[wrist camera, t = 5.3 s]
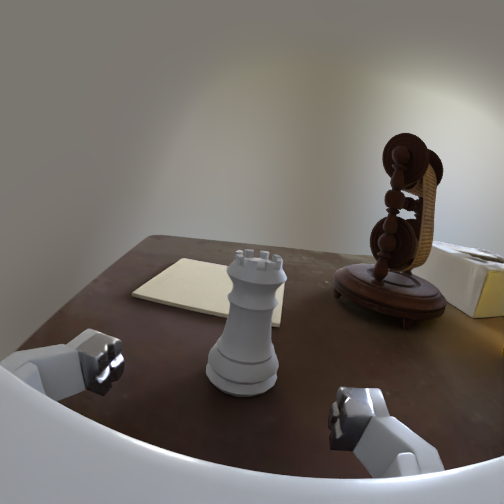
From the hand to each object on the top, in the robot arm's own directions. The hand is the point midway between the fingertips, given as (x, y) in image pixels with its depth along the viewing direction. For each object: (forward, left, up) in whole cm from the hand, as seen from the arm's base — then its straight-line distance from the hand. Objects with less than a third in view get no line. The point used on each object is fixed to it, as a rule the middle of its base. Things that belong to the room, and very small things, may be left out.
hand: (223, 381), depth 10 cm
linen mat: (-5, +22, -5) cm, 23 cm away
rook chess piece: (0, +7, -5) cm, 9 cm away
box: (+41, +38, -5) cm, 56 cm away
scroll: (+15, +25, -5) cm, 29 cm away
